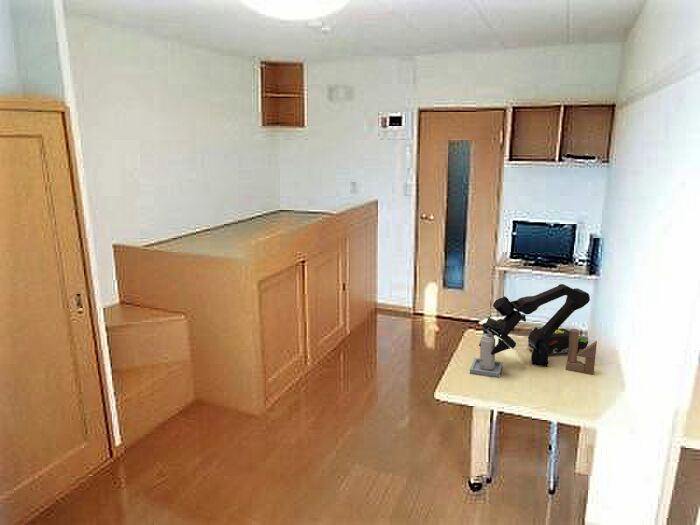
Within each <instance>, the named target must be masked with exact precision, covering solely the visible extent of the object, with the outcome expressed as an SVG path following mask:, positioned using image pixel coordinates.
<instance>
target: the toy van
mask: <svg viewBox="0 0 700 525" xmlns="http://www.w3.org/2000/svg"><path fill="white" fill-rule="evenodd" d="M532 331H533V330H532ZM532 331H531V330H530V333H531V332H532ZM569 336H570V330H568V329H566V328H563V327H561V328H560V327H559V328H558V329H557V330H556V331H555V332H554V333H553V334H552V336H551V340H550V342H549V344H548V345H549V346H550V347H551V348H552V349H553V350H552V352H551V354H549V355H548V358H549V357H552V354H562V353H563V354H564V353H568V348H569ZM527 341H528V340H527ZM587 346H588V342H587V341H586V340H585V339H584V338H583V337H581V336H579V339H578V350H577V353H578V352H579V351H581V350H583V349H584V348H586V347H587ZM527 347H528V348H529V350H531V352H532V351H533V350H534V348H533V347H532V346H531V344H530V343H529V341H528V344H527Z"/></svg>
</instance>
